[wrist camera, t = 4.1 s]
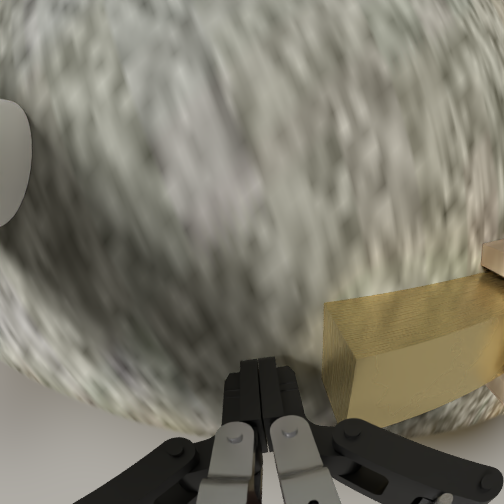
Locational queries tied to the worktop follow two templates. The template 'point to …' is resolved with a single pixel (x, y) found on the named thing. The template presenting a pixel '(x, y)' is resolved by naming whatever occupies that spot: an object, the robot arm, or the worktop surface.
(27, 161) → the cylindrical container
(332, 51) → the worktop surface
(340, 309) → the long yellowish block
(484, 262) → the beige u-shaped block
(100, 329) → the worktop surface
